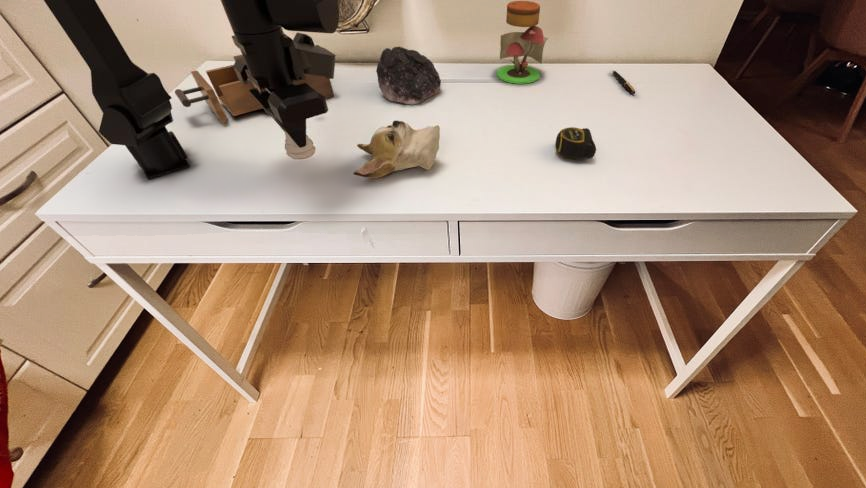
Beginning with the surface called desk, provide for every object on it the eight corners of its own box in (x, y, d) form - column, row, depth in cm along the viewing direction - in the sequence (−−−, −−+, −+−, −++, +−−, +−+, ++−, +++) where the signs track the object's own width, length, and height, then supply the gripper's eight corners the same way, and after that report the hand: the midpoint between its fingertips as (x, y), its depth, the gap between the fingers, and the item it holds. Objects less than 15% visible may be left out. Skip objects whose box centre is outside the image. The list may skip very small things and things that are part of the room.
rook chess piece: (322, 153, 62) (306, 103, 56) (296, 164, 60) (277, 113, 54) (307, 143, 64) (290, 94, 58) (281, 153, 62) (262, 103, 56)
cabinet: (269, 115, 81) (253, 75, 75) (249, 95, 88) (232, 56, 82) (334, 97, 88) (324, 58, 82) (311, 79, 94) (300, 42, 88)
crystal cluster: (451, 100, 89) (451, 51, 82) (397, 109, 83) (392, 57, 76) (422, 84, 97) (420, 39, 91) (371, 92, 91) (365, 44, 84)
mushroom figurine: (547, 85, 93) (557, 12, 82) (495, 84, 93) (498, 11, 82) (543, 66, 101) (551, -2, 90) (494, 66, 101) (497, -3, 90)
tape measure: (593, 164, 70) (598, 145, 68) (555, 162, 70) (559, 143, 68) (588, 144, 75) (592, 126, 72) (552, 143, 75) (555, 124, 72)
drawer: (197, 129, 75) (179, 96, 71) (182, 108, 81) (165, 77, 76) (289, 104, 83) (278, 73, 78) (270, 86, 89) (258, 56, 84)
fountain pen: (609, 72, 99) (610, 66, 98) (613, 72, 99) (615, 66, 98) (631, 96, 90) (633, 90, 89) (636, 96, 90) (638, 89, 89)
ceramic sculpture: (440, 132, 59) (341, 143, 59) (446, 180, 66) (357, 191, 65) (436, 102, 67) (347, 111, 66) (442, 148, 73) (361, 157, 72)
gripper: (350, 34, 48) (373, 149, 59) (291, 1, 57) (321, 106, 69) (257, 54, 43) (302, 175, 54) (210, 14, 53) (257, 124, 64)
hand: (297, 141), depth 61 cm, fingers closed on rook chess piece, 3 cm apart
